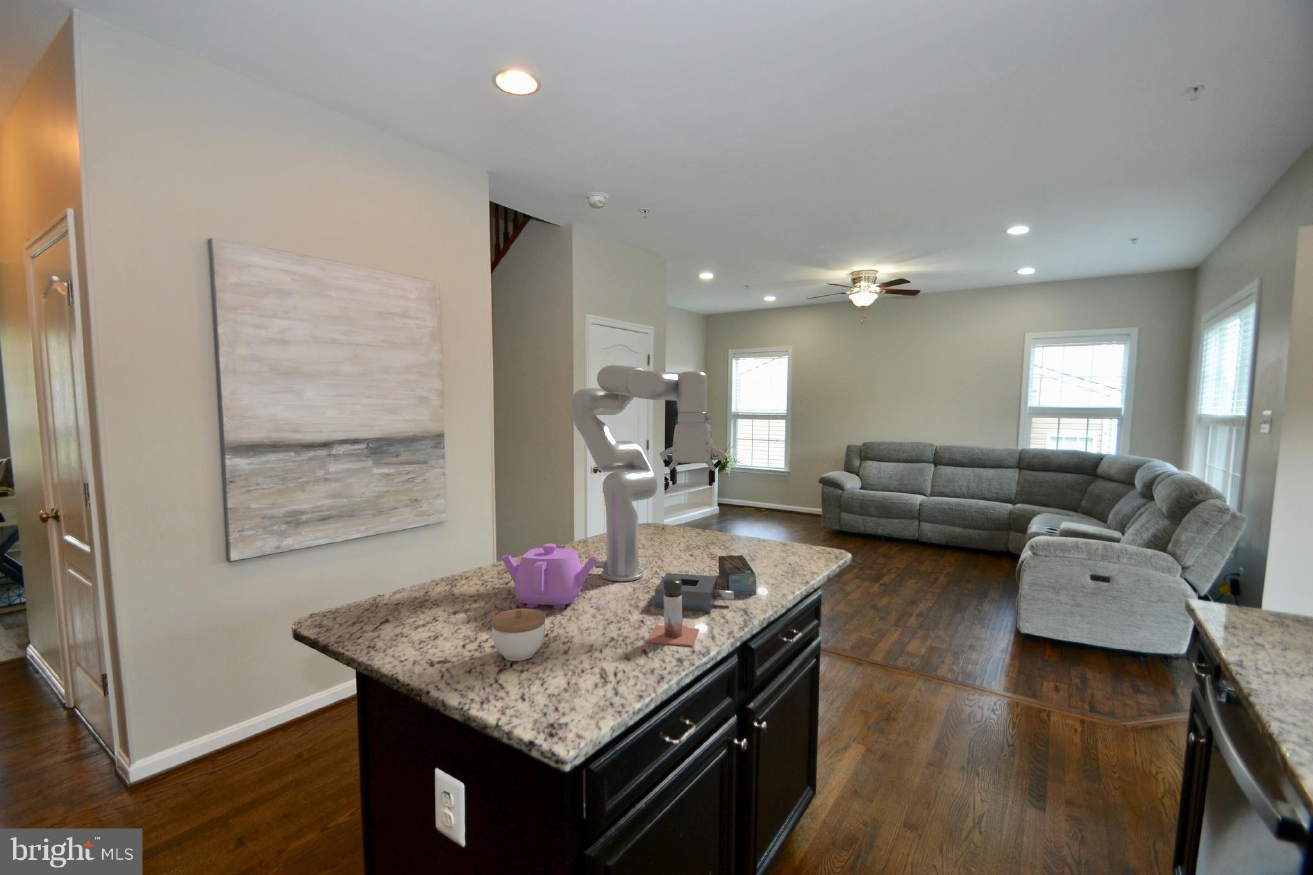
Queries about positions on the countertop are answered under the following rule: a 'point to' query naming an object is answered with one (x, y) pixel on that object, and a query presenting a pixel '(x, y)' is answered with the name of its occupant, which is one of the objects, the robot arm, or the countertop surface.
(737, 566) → the beverage carton
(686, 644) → the mat
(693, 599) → the grey slotted box
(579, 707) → the countertop surface
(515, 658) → the lidded jar
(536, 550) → the teapot
